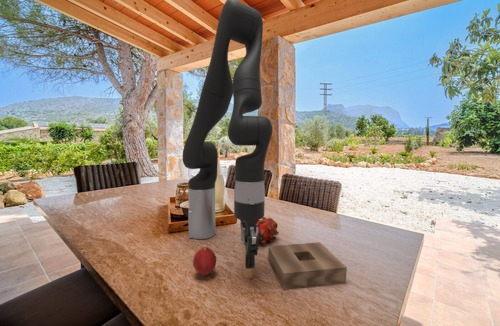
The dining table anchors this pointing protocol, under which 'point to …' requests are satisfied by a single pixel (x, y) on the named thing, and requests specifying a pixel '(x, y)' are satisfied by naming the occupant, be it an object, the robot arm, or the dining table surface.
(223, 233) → the dining table surface
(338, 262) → the hole block
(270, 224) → the dragon fruit
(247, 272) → the peg
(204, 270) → the onion
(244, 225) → the robot arm
